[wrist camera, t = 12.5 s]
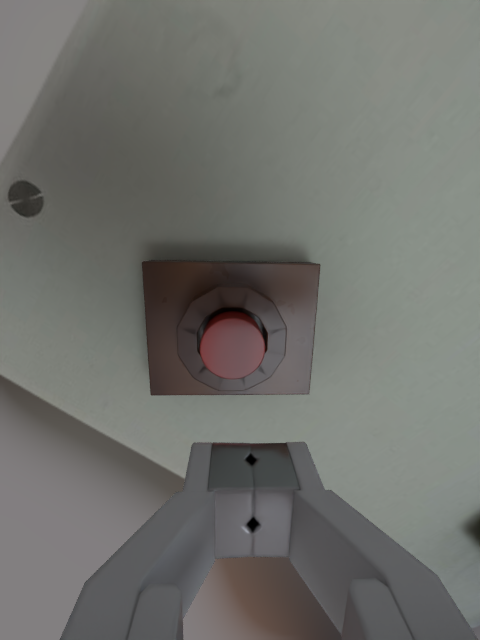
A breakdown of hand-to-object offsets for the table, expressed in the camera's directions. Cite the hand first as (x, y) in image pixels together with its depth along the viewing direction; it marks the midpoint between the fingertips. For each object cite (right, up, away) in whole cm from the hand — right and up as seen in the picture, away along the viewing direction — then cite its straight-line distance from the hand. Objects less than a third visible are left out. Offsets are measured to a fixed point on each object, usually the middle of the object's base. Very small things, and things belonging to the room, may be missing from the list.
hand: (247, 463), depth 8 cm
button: (-1, +3, +10) cm, 10 cm away
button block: (-1, +4, +13) cm, 14 cm away
